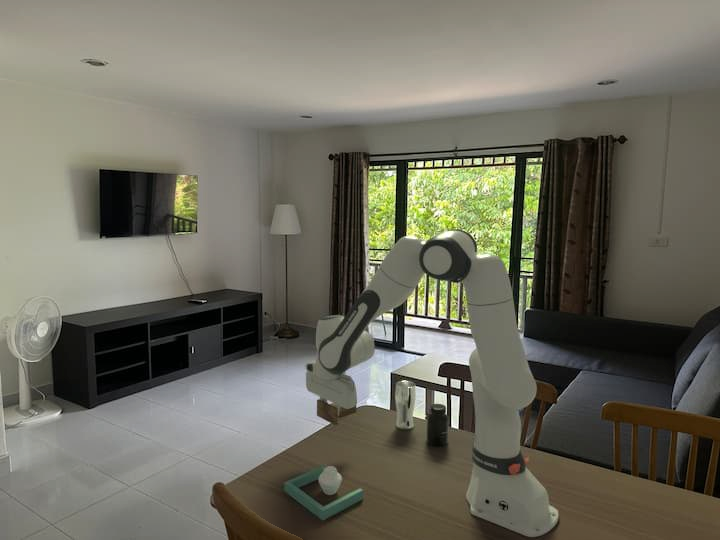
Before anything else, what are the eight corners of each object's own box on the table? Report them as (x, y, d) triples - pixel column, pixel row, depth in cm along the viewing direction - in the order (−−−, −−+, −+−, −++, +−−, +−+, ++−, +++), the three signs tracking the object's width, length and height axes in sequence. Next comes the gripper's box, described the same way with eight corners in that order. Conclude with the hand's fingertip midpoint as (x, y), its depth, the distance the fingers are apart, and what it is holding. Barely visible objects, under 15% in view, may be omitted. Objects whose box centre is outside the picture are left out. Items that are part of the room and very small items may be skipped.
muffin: (319, 499, 125) (319, 473, 124) (317, 486, 131) (317, 461, 130) (343, 497, 126) (343, 471, 125) (340, 484, 132) (340, 459, 131)
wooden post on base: (362, 415, 149) (363, 399, 149) (335, 425, 142) (335, 408, 141) (343, 406, 156) (344, 391, 155) (316, 415, 148) (316, 399, 148)
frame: (363, 499, 125) (363, 490, 125) (322, 520, 117) (322, 510, 116) (323, 473, 138) (323, 465, 137) (284, 491, 129) (284, 482, 128)
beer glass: (415, 430, 165) (416, 387, 163) (395, 430, 165) (396, 387, 163) (413, 421, 172) (414, 380, 170) (394, 421, 172) (394, 380, 170)
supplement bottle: (447, 448, 153) (448, 411, 151) (425, 445, 154) (426, 409, 153) (448, 438, 159) (449, 403, 158) (427, 436, 161) (428, 401, 159)
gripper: (362, 375, 139) (361, 421, 141) (318, 358, 154) (318, 400, 156) (345, 380, 135) (345, 428, 136) (302, 362, 150) (302, 406, 151)
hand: (330, 413), depth 146 cm, fingers closed on wooden post on base, 3 cm apart
